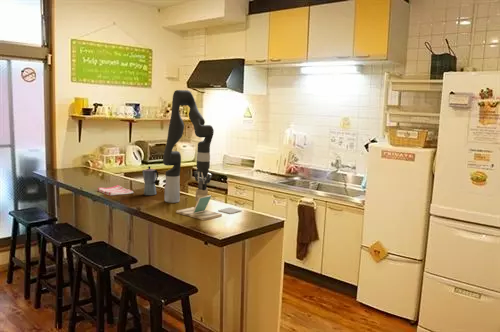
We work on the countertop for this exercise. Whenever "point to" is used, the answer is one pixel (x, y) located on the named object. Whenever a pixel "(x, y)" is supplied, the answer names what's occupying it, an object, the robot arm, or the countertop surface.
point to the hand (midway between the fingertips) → (202, 189)
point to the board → (199, 213)
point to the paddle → (200, 191)
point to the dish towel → (115, 191)
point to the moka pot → (150, 181)
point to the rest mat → (230, 210)
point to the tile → (202, 204)
